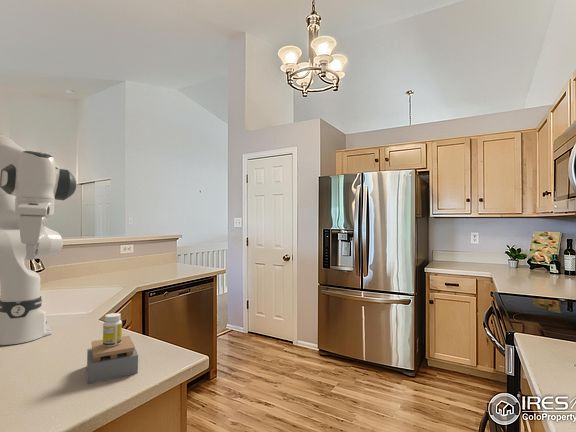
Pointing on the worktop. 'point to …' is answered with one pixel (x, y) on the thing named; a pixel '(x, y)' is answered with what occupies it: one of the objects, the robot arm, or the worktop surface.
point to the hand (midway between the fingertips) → (32, 257)
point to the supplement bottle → (112, 330)
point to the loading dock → (111, 360)
